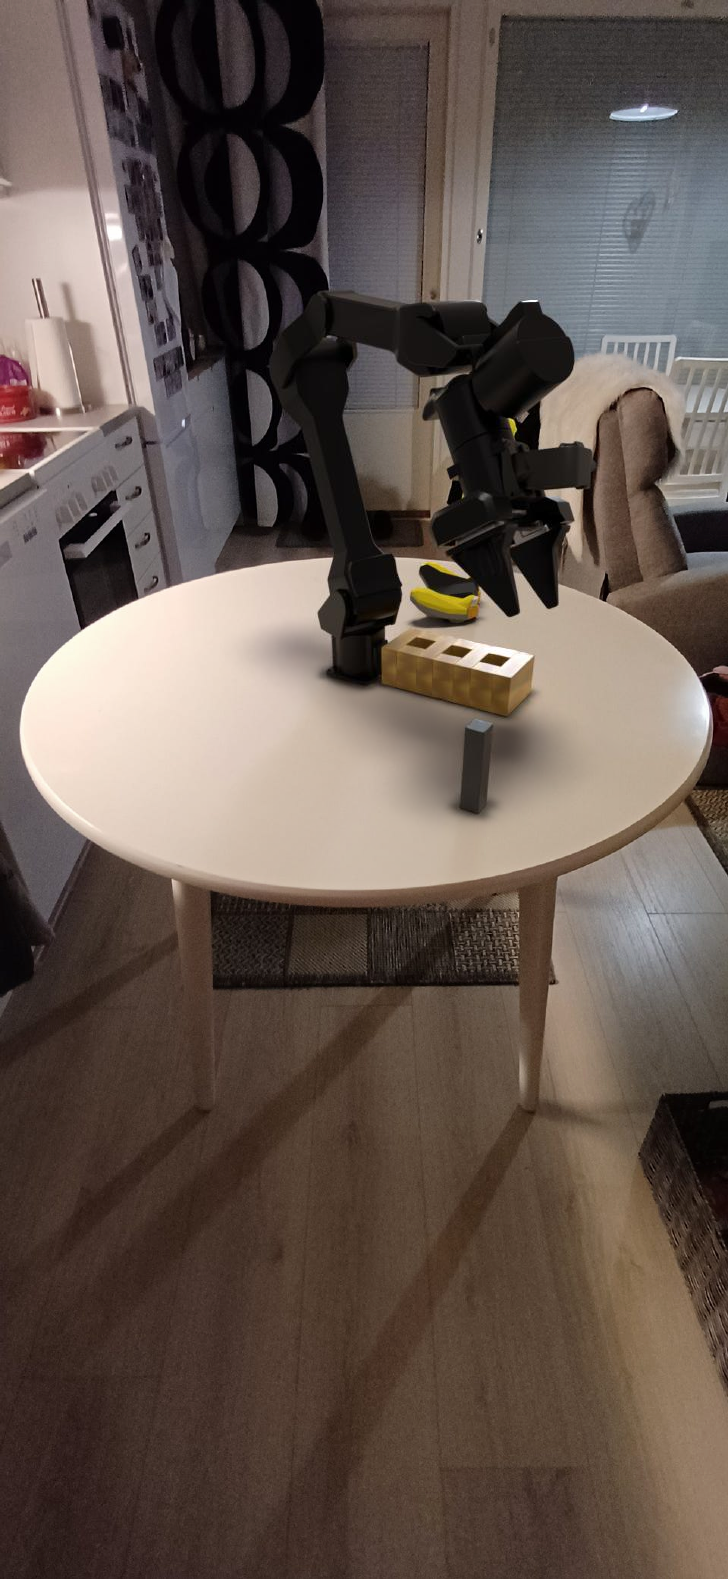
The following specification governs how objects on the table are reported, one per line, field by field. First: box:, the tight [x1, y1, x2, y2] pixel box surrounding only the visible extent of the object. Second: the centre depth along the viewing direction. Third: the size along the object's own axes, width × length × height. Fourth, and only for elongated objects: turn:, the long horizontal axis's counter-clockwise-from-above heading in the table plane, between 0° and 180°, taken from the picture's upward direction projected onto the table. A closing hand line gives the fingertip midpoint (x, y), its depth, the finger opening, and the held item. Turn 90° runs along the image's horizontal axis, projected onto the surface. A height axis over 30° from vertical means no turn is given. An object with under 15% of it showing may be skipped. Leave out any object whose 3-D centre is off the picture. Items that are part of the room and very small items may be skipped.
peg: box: [459, 718, 494, 814], centre depth 73 cm, size 2×2×9 cm
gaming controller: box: [409, 561, 482, 624], centre depth 117 cm, size 15×6×10 cm
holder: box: [381, 627, 536, 717], centre depth 95 cm, size 17×7×5 cm, turn 58°
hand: (534, 611), depth 71 cm, fingers open, 9 cm apart
